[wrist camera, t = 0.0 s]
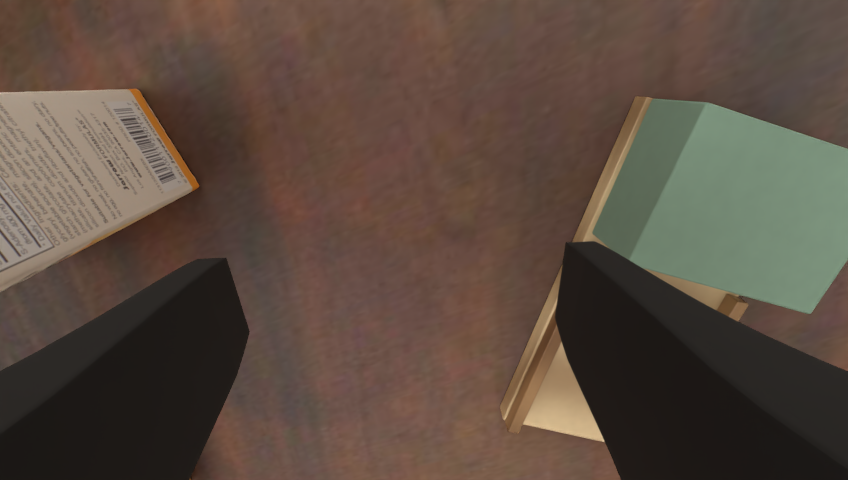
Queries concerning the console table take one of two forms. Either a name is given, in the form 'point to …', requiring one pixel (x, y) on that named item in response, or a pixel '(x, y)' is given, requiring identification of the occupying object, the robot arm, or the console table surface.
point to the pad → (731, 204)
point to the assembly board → (544, 354)
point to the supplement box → (78, 173)
